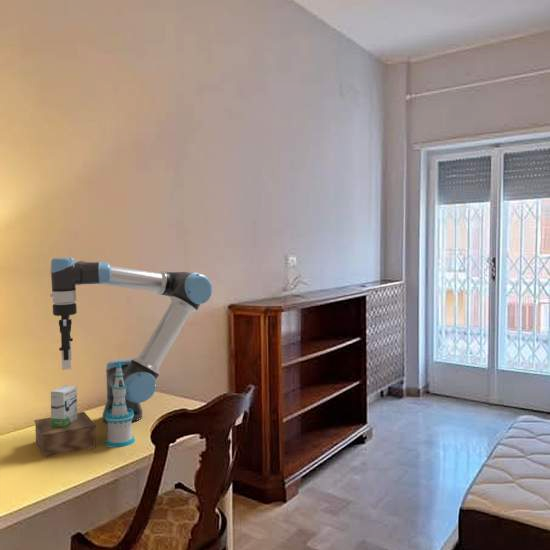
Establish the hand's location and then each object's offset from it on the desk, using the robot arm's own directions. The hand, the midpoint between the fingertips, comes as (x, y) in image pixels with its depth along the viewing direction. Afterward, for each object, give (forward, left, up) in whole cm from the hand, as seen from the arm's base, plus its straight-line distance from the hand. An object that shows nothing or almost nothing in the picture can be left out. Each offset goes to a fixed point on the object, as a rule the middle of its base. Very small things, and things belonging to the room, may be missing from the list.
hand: (67, 364), depth 177 cm
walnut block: (+1, +2, -28) cm, 28 cm away
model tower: (-17, +5, -27) cm, 32 cm away
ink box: (+1, +2, -20) cm, 20 cm away
